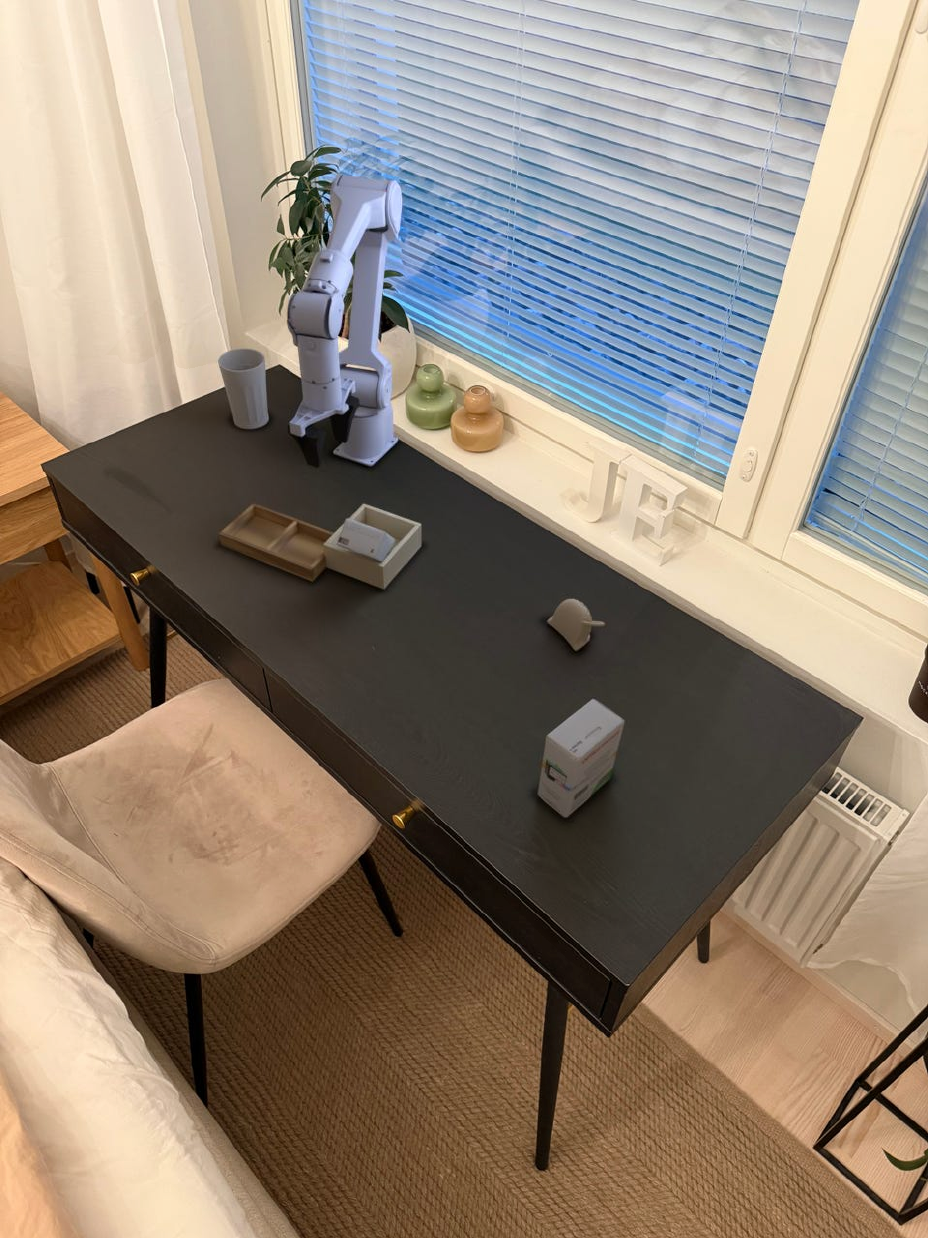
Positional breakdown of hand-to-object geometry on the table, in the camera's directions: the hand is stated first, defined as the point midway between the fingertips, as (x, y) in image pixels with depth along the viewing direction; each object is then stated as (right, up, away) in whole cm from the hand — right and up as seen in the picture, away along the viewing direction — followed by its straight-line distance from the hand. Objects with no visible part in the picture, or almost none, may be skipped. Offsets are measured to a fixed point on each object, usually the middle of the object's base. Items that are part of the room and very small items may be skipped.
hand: (327, 452), depth 139 cm
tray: (-7, -15, 0) cm, 16 cm away
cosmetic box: (+7, -15, -3) cm, 17 cm away
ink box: (+35, -47, -30) cm, 65 cm away
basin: (+7, -16, -1) cm, 18 cm away
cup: (-18, +11, +25) cm, 32 cm away
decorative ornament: (+37, -28, -12) cm, 48 cm away
